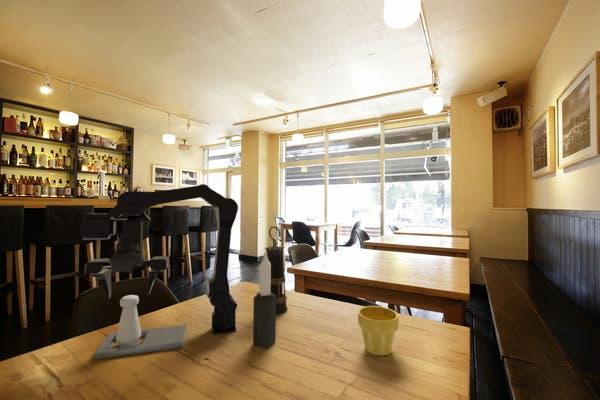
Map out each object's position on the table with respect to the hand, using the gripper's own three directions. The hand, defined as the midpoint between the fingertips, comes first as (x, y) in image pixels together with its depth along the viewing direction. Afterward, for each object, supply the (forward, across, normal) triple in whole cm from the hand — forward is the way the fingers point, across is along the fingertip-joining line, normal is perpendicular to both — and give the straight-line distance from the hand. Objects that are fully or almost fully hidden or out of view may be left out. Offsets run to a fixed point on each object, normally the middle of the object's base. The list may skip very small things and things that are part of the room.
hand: (128, 296), depth 75 cm
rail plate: (+13, +4, 0) cm, 14 cm away
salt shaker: (+13, 0, 0) cm, 13 cm away
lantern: (+13, +43, +13) cm, 47 cm away
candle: (+13, +35, -9) cm, 38 cm away
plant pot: (+13, +63, -21) cm, 68 cm away
